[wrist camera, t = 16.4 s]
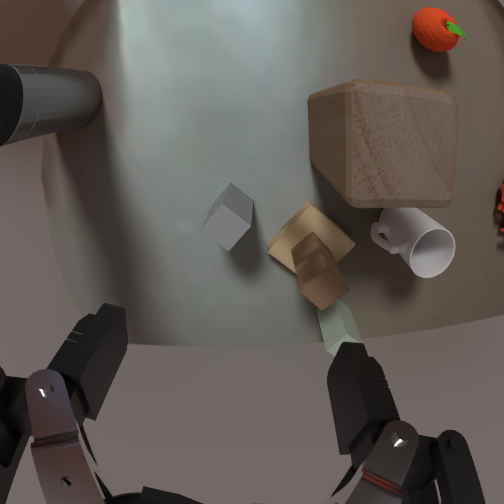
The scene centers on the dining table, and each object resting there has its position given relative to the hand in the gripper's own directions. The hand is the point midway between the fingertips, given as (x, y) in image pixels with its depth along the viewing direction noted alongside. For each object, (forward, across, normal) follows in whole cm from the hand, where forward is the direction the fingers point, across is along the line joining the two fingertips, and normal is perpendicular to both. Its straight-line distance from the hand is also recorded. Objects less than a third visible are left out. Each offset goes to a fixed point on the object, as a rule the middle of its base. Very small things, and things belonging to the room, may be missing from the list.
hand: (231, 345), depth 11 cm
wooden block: (+33, +11, +8) cm, 36 cm away
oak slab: (+34, +10, -9) cm, 36 cm away
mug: (+33, +21, -3) cm, 39 cm away
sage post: (+33, +17, -20) cm, 42 cm away
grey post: (+33, -2, -5) cm, 34 cm away
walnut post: (+30, +10, -9) cm, 33 cm away
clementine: (+33, +21, +27) cm, 48 cm away
